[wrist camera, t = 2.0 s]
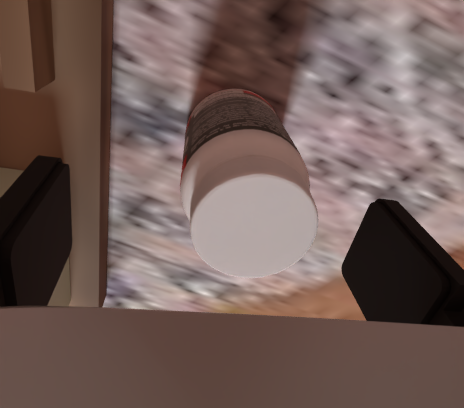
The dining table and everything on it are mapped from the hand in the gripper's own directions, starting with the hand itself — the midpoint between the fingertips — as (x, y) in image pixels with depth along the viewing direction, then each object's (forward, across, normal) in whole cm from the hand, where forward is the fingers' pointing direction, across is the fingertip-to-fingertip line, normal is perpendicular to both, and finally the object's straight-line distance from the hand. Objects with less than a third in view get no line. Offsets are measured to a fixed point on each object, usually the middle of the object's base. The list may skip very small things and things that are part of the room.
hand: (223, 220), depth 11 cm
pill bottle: (+8, -1, 0) cm, 8 cm away
